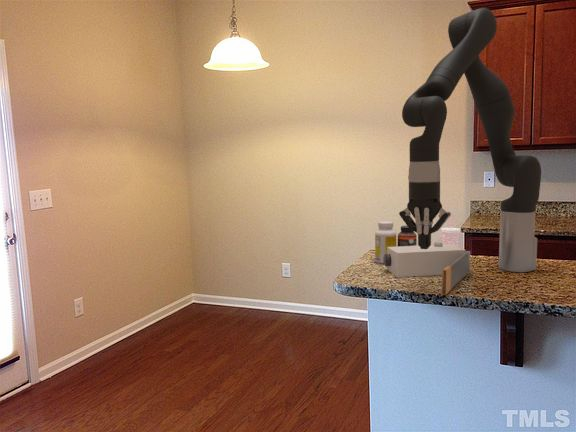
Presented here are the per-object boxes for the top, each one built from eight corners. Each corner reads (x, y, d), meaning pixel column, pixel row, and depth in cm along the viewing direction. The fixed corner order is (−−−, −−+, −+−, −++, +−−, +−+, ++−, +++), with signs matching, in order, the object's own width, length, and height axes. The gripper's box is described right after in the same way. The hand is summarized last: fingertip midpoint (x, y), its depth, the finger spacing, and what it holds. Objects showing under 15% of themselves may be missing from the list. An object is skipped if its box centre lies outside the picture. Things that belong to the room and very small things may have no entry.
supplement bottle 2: (416, 263, 158) (417, 227, 157) (397, 262, 160) (397, 227, 158) (415, 259, 164) (416, 224, 163) (397, 258, 165) (397, 224, 164)
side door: (465, 271, 145) (466, 250, 144) (470, 271, 144) (470, 250, 144) (441, 294, 123) (441, 269, 122) (446, 294, 122) (446, 270, 122)
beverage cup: (442, 252, 173) (443, 212, 171) (460, 254, 170) (461, 213, 168) (439, 256, 167) (440, 214, 166) (458, 257, 165) (459, 215, 163)
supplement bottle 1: (399, 261, 162) (399, 221, 160) (391, 265, 157) (392, 224, 155) (379, 259, 166) (379, 220, 164) (371, 263, 160) (371, 223, 158)
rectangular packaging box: (450, 266, 153) (451, 241, 152) (464, 273, 144) (465, 247, 143) (383, 270, 150) (383, 244, 149) (393, 277, 141) (393, 250, 140)
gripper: (455, 178, 123) (455, 248, 126) (404, 178, 131) (404, 243, 133) (446, 181, 117) (446, 253, 120) (393, 180, 125) (393, 249, 127)
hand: (424, 248), depth 126 cm, fingers closed
